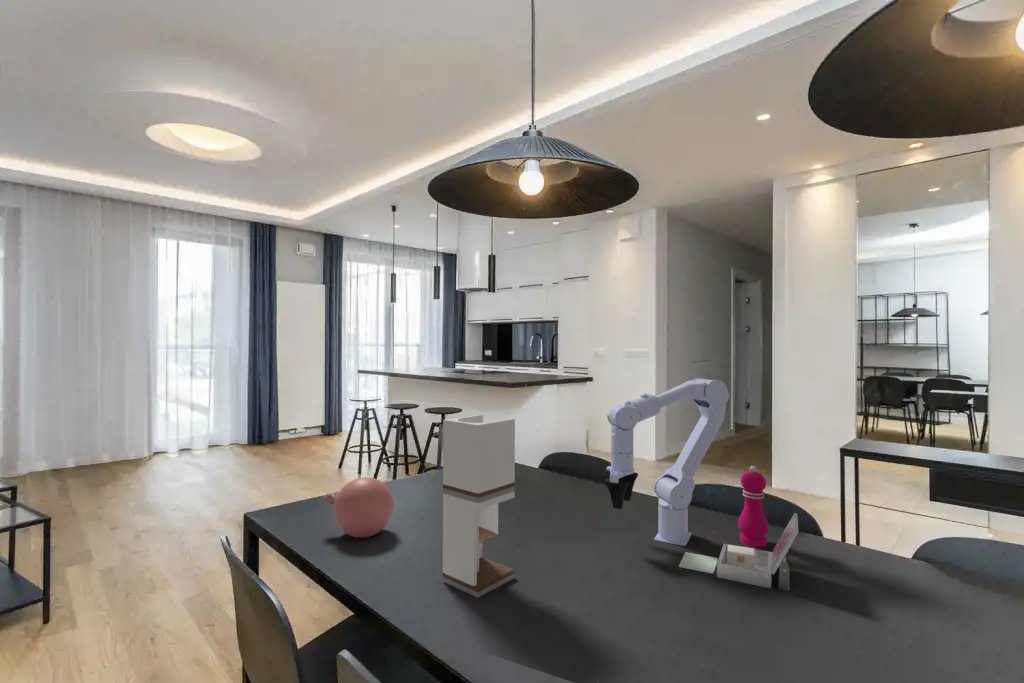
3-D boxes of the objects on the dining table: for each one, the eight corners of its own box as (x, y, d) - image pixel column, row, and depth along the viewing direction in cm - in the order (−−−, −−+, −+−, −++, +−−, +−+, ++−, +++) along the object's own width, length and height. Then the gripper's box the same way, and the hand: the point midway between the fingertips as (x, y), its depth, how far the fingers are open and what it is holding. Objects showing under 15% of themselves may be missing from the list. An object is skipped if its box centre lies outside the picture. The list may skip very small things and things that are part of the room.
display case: (477, 598, 103) (478, 425, 103) (442, 582, 110) (443, 420, 110) (514, 578, 112) (514, 419, 112) (479, 564, 119) (480, 414, 119)
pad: (685, 553, 125) (685, 551, 125) (718, 559, 122) (718, 558, 122) (678, 567, 118) (678, 565, 118) (713, 574, 114) (713, 572, 114)
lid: (794, 512, 117) (797, 514, 116) (772, 550, 119) (775, 552, 118) (795, 530, 105) (798, 532, 105) (770, 572, 107) (773, 574, 107)
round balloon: (342, 521, 148) (342, 468, 148) (403, 528, 142) (404, 473, 142) (306, 541, 133) (306, 481, 133) (373, 550, 127) (373, 488, 127)
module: (728, 563, 119) (728, 544, 119) (754, 568, 117) (754, 548, 117) (727, 571, 115) (727, 551, 115) (754, 575, 113) (754, 555, 113)
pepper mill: (772, 549, 128) (772, 470, 128) (741, 547, 129) (741, 468, 130) (764, 539, 135) (764, 463, 135) (735, 536, 137) (735, 462, 137)
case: (723, 556, 124) (723, 536, 124) (789, 569, 117) (789, 547, 117) (717, 578, 112) (717, 555, 112) (789, 593, 106) (789, 569, 106)
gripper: (615, 445, 141) (615, 494, 141) (598, 455, 128) (597, 509, 128) (640, 448, 138) (640, 498, 137) (625, 458, 125) (625, 514, 125)
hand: (621, 504), depth 133 cm, fingers open, 7 cm apart
